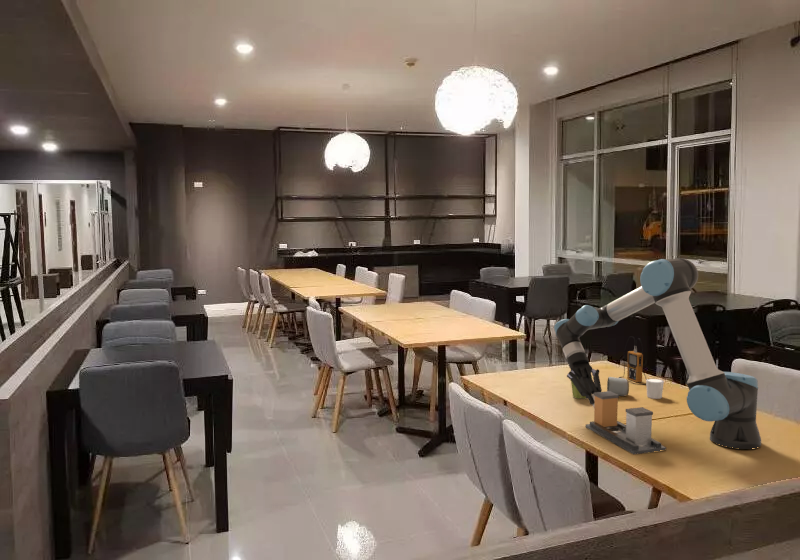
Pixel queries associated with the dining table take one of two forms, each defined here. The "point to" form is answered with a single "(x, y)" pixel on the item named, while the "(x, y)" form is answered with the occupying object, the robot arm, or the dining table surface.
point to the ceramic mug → (618, 386)
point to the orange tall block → (606, 408)
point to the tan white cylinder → (654, 388)
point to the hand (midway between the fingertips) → (599, 411)
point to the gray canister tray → (631, 432)
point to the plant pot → (576, 392)
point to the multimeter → (634, 365)
